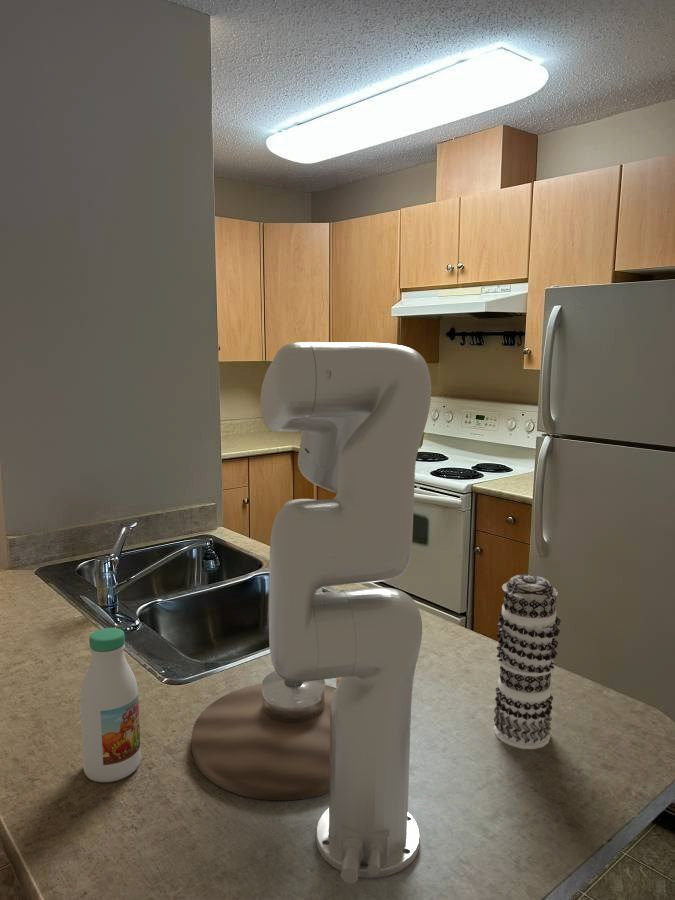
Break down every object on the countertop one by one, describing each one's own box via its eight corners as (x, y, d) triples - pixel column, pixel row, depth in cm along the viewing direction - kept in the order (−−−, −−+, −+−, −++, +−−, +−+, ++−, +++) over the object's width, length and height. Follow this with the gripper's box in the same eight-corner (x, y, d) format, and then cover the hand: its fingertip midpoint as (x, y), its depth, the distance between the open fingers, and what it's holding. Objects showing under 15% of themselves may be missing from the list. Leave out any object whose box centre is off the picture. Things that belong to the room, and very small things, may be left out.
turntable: (370, 809, 86) (371, 767, 85) (162, 789, 89) (161, 748, 88) (383, 698, 113) (384, 665, 113) (223, 686, 117) (223, 653, 116)
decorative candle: (555, 755, 98) (566, 593, 95) (491, 745, 101) (499, 587, 97) (550, 721, 107) (560, 572, 103) (491, 714, 109) (499, 567, 106)
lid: (319, 725, 101) (320, 691, 101) (255, 720, 103) (255, 686, 102) (328, 692, 111) (329, 661, 110) (270, 687, 113) (270, 657, 112)
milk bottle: (80, 788, 90) (73, 648, 87) (86, 755, 97) (79, 624, 94) (140, 779, 92) (135, 642, 89) (141, 747, 99) (136, 619, 96)
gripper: (319, 589, 105) (318, 697, 108) (331, 560, 120) (330, 656, 122) (272, 586, 106) (272, 694, 109) (290, 557, 121) (290, 653, 123)
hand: (303, 673), depth 116 cm, fingers closed
